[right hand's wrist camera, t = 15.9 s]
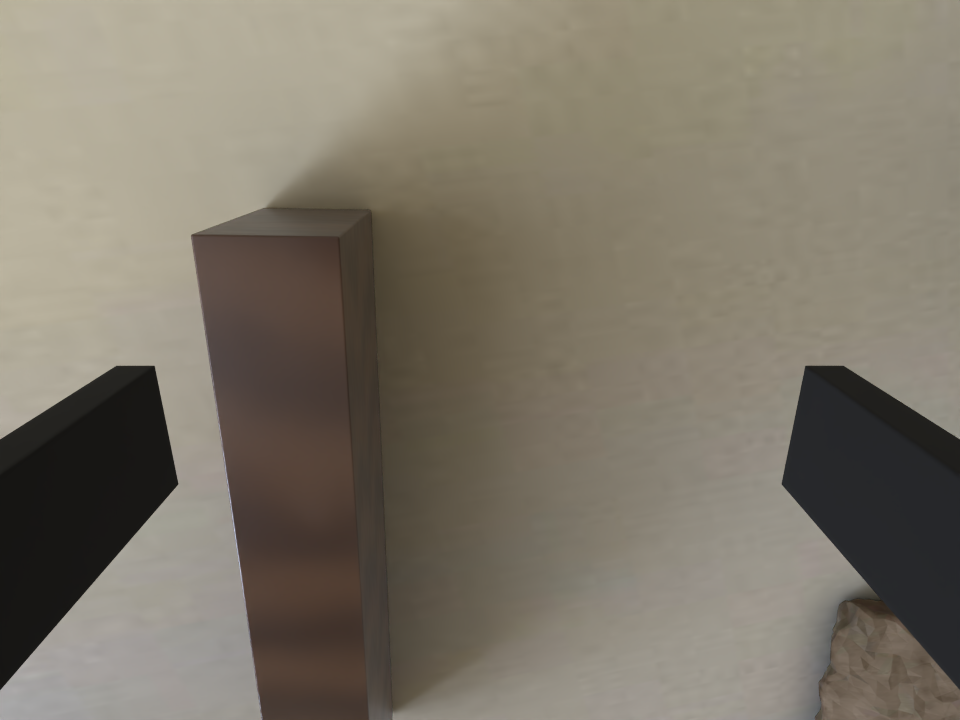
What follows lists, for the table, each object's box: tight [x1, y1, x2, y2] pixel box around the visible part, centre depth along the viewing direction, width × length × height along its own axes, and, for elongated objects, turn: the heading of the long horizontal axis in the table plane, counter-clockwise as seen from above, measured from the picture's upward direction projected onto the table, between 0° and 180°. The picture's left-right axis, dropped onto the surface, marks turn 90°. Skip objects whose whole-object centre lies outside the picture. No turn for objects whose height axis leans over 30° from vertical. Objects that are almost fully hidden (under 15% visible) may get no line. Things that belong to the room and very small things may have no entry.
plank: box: [191, 208, 393, 720], centre depth 30 cm, size 32×5×8 cm, turn 179°
